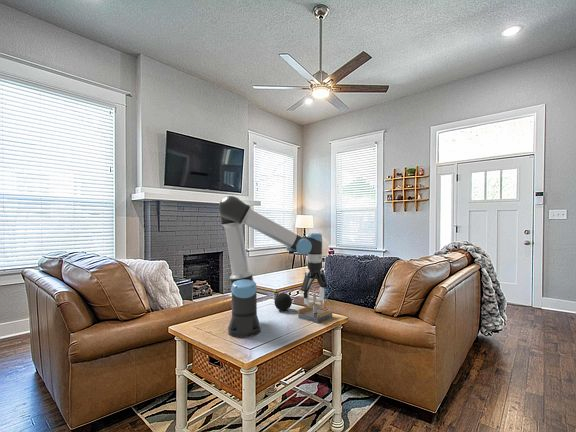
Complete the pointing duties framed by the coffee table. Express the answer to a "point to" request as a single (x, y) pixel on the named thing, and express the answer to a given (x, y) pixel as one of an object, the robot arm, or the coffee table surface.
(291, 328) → the coffee table surface
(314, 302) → the pipe connector
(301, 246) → the robot arm
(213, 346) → the coffee table surface
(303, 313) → the block
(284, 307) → the speaker
